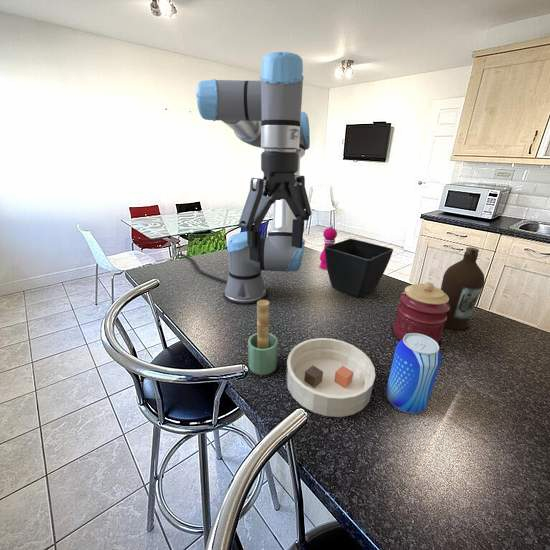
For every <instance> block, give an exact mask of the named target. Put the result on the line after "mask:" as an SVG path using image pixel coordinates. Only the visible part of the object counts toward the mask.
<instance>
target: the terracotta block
mask: <svg viewBox="0 0 550 550" xmlns="http://www.w3.org/2000/svg"><path fill="white" fill-rule="evenodd" d="M353 373H354V372H353V371H351V370H349V369H348V368H346V367H344V366H342V367H340V368H339V369H338V370H337V371H336V372H335V380H334V382H336V383H337V384H339V385H341V386H342V387H344V388H346V387H347V386H348V385H349V384H350V383H351V382H352V378H353Z"/></svg>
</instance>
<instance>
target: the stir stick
mask: <svg viewBox="0 0 550 550" xmlns="http://www.w3.org/2000/svg"><path fill="white" fill-rule="evenodd" d="M256 333H257V348H259V349H266V348H269V333H270V301H269V300H267V299H262V300H259V301H258V302H256Z"/></svg>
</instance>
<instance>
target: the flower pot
mask: <svg viewBox="0 0 550 550" xmlns="http://www.w3.org/2000/svg"><path fill="white" fill-rule="evenodd" d="M393 252H394V248H392V247H387V246H385V245H384V246H383V245H379V244H375V243H371V242H367V241H363V240H360V239H355V238H348V239H345V240H342V241H341V240H340V241H339V242H335V243H334V244H332V245H329V246H326V247H325V256H326V264H327V269H326V270H327V274H328V278H329V282H330V285H331V287H332V288H333V289H336V290H338V291H341V292H343V293H346V294H349V295H351V296H354V297H357V298H361V297H363V296H365V295H366V294H369V293H370V292H372V291H373V290H374V289H376V287H377V286H378V285H379V283H380V281H381V279H382V278H383V276H384V273H385V271H386V270H387V267H388V266H389V265H388V264H389V263H390V260H391V257H392V255H393Z"/></svg>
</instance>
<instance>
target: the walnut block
mask: <svg viewBox="0 0 550 550" xmlns="http://www.w3.org/2000/svg"><path fill="white" fill-rule="evenodd" d="M322 377H323V371H321V370H320V369H318V368H317V367H315V366H311V367H310V368H309V369H307V370H306V371H305V379H304V381H305V382H306V383H308V384H309V385H311V386H312V387H314V388H315V387H316V386H317V385H318V384H320V383H321V382H322Z"/></svg>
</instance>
